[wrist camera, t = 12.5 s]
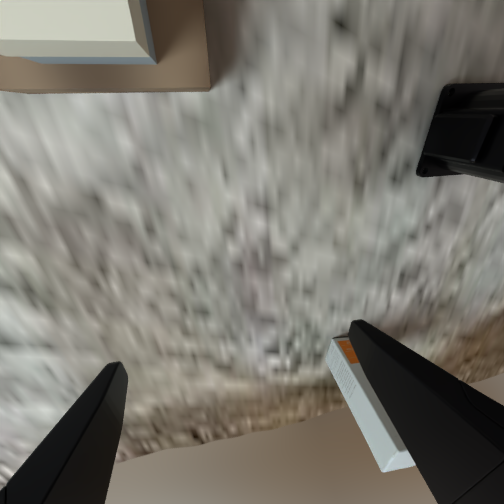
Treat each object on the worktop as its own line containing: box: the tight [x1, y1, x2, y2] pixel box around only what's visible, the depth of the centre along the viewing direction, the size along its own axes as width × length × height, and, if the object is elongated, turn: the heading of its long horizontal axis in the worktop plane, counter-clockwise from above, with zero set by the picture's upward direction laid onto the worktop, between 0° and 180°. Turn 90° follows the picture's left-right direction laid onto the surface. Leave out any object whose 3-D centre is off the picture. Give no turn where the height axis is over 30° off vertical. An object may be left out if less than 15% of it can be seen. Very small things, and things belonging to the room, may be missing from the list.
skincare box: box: [325, 337, 416, 472], centre depth 26 cm, size 6×4×12 cm
